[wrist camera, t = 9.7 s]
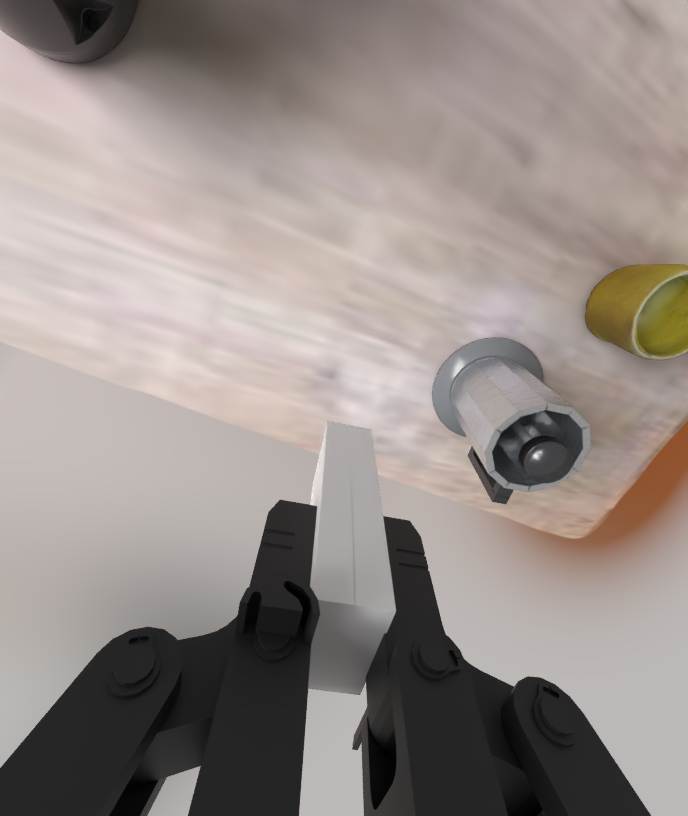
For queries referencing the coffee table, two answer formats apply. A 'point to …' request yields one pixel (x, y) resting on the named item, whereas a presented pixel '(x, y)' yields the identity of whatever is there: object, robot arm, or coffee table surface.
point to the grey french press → (500, 407)
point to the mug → (642, 310)
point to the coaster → (468, 355)
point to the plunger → (543, 456)
